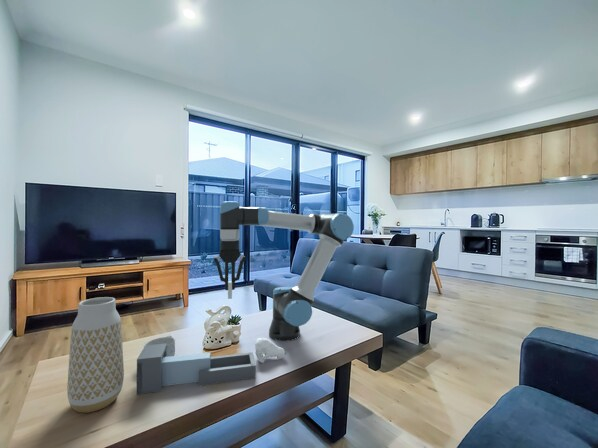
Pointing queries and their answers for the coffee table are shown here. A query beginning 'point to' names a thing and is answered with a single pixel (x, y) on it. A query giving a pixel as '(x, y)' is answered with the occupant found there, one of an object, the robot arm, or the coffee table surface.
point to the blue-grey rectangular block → (183, 368)
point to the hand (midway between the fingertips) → (229, 297)
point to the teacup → (163, 340)
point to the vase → (95, 356)
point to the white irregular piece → (267, 349)
